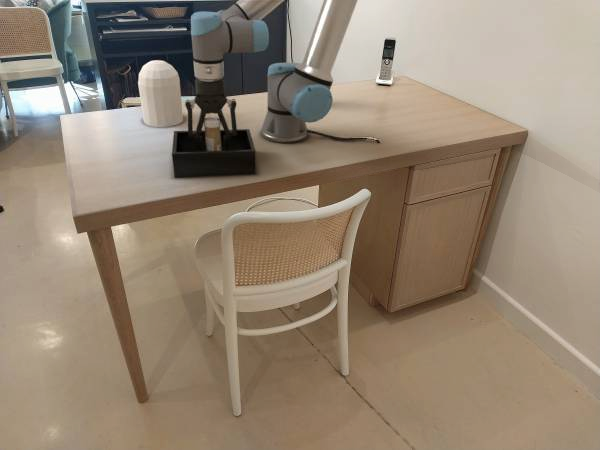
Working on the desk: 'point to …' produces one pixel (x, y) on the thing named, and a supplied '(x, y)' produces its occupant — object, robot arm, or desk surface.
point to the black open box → (213, 156)
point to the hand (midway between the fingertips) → (214, 158)
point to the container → (160, 94)
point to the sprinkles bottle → (212, 133)
